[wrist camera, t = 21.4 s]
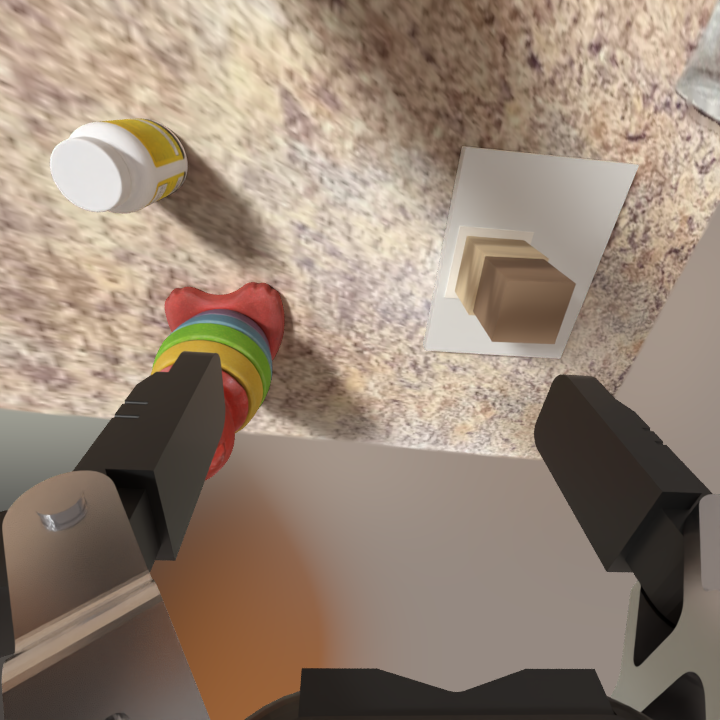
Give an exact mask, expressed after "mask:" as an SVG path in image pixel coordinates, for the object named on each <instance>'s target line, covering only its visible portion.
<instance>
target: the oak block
mask: <svg viewBox="0 0 720 720" xmlns="http://www.w3.org/2000/svg"><path fill="white" fill-rule="evenodd" d="M485 256H493V257H512V258H532V259H545V260H546V261H547V262H548V260H549V258H547V257H546V256H544V255H543V254H542V253H540V252H539V251H538V250H536V249H535V248H534V247H532V246H531V245H530V244H528V243H527V242H526V241H524V240H514V239H502V238H489V237H477V236H467V238H466V242H465V247H464V251H463V256H462V260H461V265H460V269H459V274H458V278H457V283H456V287H455V293H456V294H457V296H458V298H459V299H460V301H461V303H462V304H463V306H464V308H465V309H466V311H467V313H468V314H469V315H475V314H474V312H473V309H474V304H475V300H476V295H477V291H478V286H479V282H480V277H481V273H482V269H483V264H484V260H485Z"/></svg>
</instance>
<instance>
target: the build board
mask: <svg viewBox="0 0 720 720" xmlns="http://www.w3.org/2000/svg"><path fill="white" fill-rule="evenodd" d="M638 166H639V165H637V164H632V163H624V162H614V161H604V160H595V159H585V158H575V157H565V156H555V155H546V154H536V153H526V152H516V151H506V150H497V149H487V148H477V147H467V146H462V149H461V154H460V159H459V164H458V169H457V174H456V179H455V184H454V189H453V194H452V199H451V205H450V210H449V215H448V220H447V225H446V230H445V235H444V240H443V245H442V250H441V255H440V260H439V266H438V271H437V276H436V281H435V286H434V291H433V296H432V301H431V306H430V311H429V316H428V321H427V326H426V332H425V337H424V342H423V346H424V349H425V350H426V351H442V352H458V353H474V354H490V355H506V356H522V357H538V358H554V359H560V358H561V356H562V354H563V351H564V349H565V346H566V344H567V341H568V339H569V336H570V334H571V331H572V329H573V326H574V324H575V322H576V319H577V317H578V314H579V312H580V309H581V307H582V304H583V302H584V299H585V297H586V294H587V292H588V289H589V287H590V285H591V282H592V280H593V277H594V275H595V272H596V270H597V267H598V265H599V262H600V260H601V257H602V255H603V253H604V250H605V248H606V245H607V243H608V240H609V238H610V235H611V233H612V230H613V228H614V225H615V223H616V221H617V218H618V216H619V213H620V211H621V208H622V206H623V203H624V201H625V198H626V196H627V193H628V191H629V188H630V186H631V184H632V181H633V179H634V176H635V174H636V171H637V169H638ZM467 236H477V237H489V238H502V239H514V240H524V241H526V242H527V243H528V244H530V245H531V246H532V247H534V248H535V249H536V250H538V251H539V252H540V253H542V254H543V255H544V256H546V257H547V258H549V260H548V263H550V264H551V265H552V266H554V267H555V268H556V269H558V270H559V271H560V272H562V273H563V274H564V275H565V276H567V277H568V278H569V279H571V280H572V281H573V282H575V283H576V285H575V288H574V291H573V294H572V297H571V299H570V302H569V305H568V308H567V311H566V313H565V316H564V319H563V322H562V325H561V328H560V330H559V333H558V336H557V339H556V342H555V344H535V343H509V342H492V341H491V339H490V338H489V336H488V335H487V333H486V331H485V330H484V328H483V327H482V325H481V323H480V322H479V320H478V319H477V317H476V316H475V315H469V314H468V313H467V311H466V309H465V308H464V306H463V304H462V303H461V301H460V299H459V298H458V296H457V294H456V293H455V287H456V283H457V278H458V274H459V269H460V265H461V260H462V256H463V251H464V247H465V242H466V238H467Z"/></svg>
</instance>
